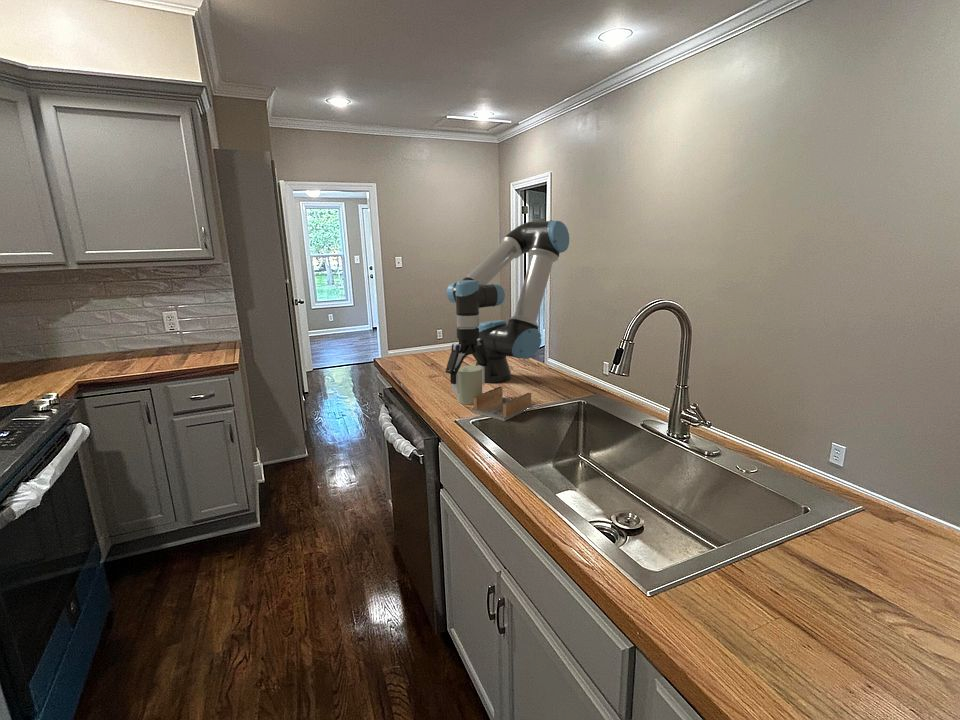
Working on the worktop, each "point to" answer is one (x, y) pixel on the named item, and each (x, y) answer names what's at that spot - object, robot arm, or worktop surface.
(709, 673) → the worktop surface
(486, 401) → the rail holder
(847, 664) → the worktop surface
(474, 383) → the can
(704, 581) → the worktop surface
